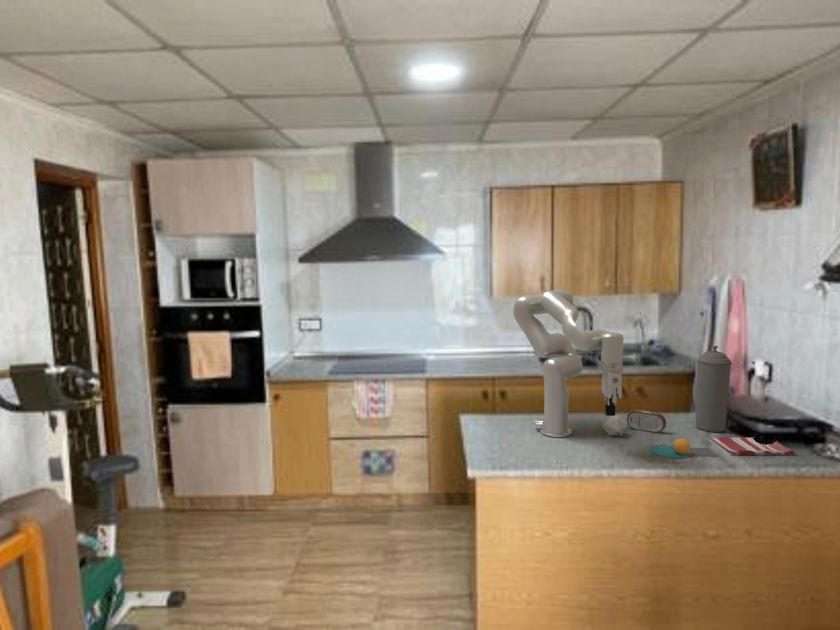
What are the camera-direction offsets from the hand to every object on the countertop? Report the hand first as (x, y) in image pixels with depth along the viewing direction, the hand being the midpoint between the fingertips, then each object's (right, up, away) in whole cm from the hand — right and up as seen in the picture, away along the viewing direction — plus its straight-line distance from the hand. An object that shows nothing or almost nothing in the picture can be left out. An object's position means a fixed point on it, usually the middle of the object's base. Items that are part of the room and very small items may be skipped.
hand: (610, 415), depth 205 cm
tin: (+23, -11, +25) cm, 35 cm away
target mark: (+22, -14, +1) cm, 26 cm away
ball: (+26, -11, -2) cm, 28 cm away
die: (+9, -12, +21) cm, 25 cm away
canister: (+51, -11, +26) cm, 58 cm away
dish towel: (+54, -14, +5) cm, 56 cm away
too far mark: (+34, -14, 0) cm, 37 cm away
